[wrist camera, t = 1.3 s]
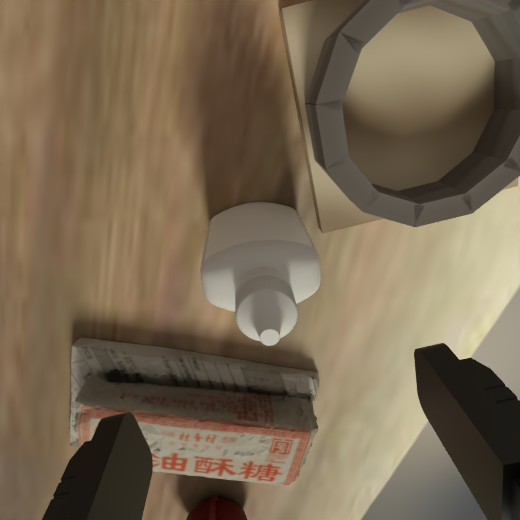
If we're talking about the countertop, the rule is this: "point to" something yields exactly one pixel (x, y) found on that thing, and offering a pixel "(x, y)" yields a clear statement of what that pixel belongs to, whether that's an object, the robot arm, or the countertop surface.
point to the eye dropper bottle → (260, 267)
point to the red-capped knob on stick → (217, 510)
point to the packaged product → (198, 409)
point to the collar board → (405, 105)
